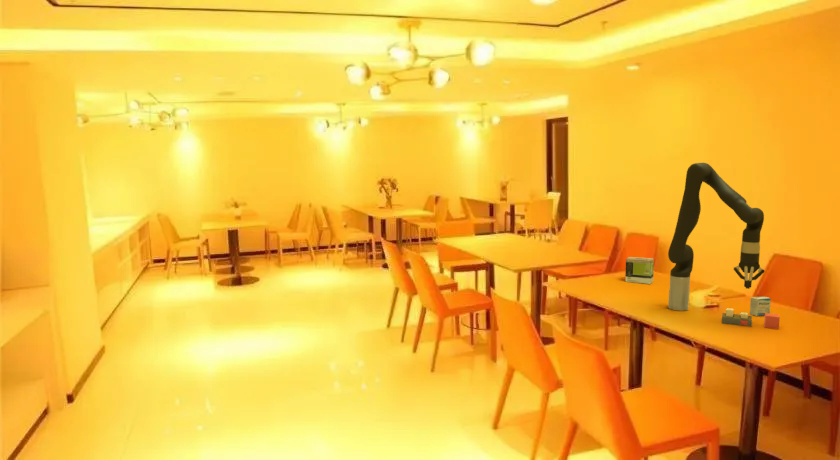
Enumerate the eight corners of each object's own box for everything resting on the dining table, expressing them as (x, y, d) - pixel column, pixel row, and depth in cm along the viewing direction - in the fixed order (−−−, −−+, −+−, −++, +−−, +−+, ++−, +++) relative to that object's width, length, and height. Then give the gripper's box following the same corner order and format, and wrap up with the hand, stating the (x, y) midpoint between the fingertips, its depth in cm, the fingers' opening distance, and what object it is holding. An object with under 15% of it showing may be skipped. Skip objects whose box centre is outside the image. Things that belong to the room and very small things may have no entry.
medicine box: (756, 316, 274) (758, 299, 273) (749, 314, 278) (750, 297, 277) (769, 315, 276) (771, 298, 275) (762, 312, 280) (763, 295, 279)
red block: (764, 327, 257) (765, 315, 256) (764, 324, 261) (765, 312, 261) (778, 329, 254) (779, 317, 253) (777, 325, 259) (778, 314, 258)
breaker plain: (725, 318, 265) (726, 309, 265) (725, 317, 268) (726, 308, 267) (732, 319, 264) (733, 310, 263) (732, 318, 266) (733, 308, 266)
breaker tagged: (740, 323, 262) (740, 313, 262) (740, 321, 265) (740, 312, 264) (747, 324, 261) (748, 314, 260) (747, 322, 264) (748, 313, 263)
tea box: (653, 281, 351) (654, 258, 349) (650, 284, 343) (651, 260, 341) (628, 278, 359) (629, 256, 357) (624, 281, 351) (625, 258, 349)
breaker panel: (721, 323, 264) (722, 317, 263) (722, 318, 271) (722, 312, 271) (751, 326, 258) (751, 320, 258) (750, 322, 265) (751, 315, 265)
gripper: (733, 251, 258) (731, 288, 260) (767, 253, 252) (764, 291, 254) (733, 249, 265) (731, 285, 267) (766, 251, 258) (763, 288, 261)
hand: (747, 288), depth 260 cm, fingers closed
